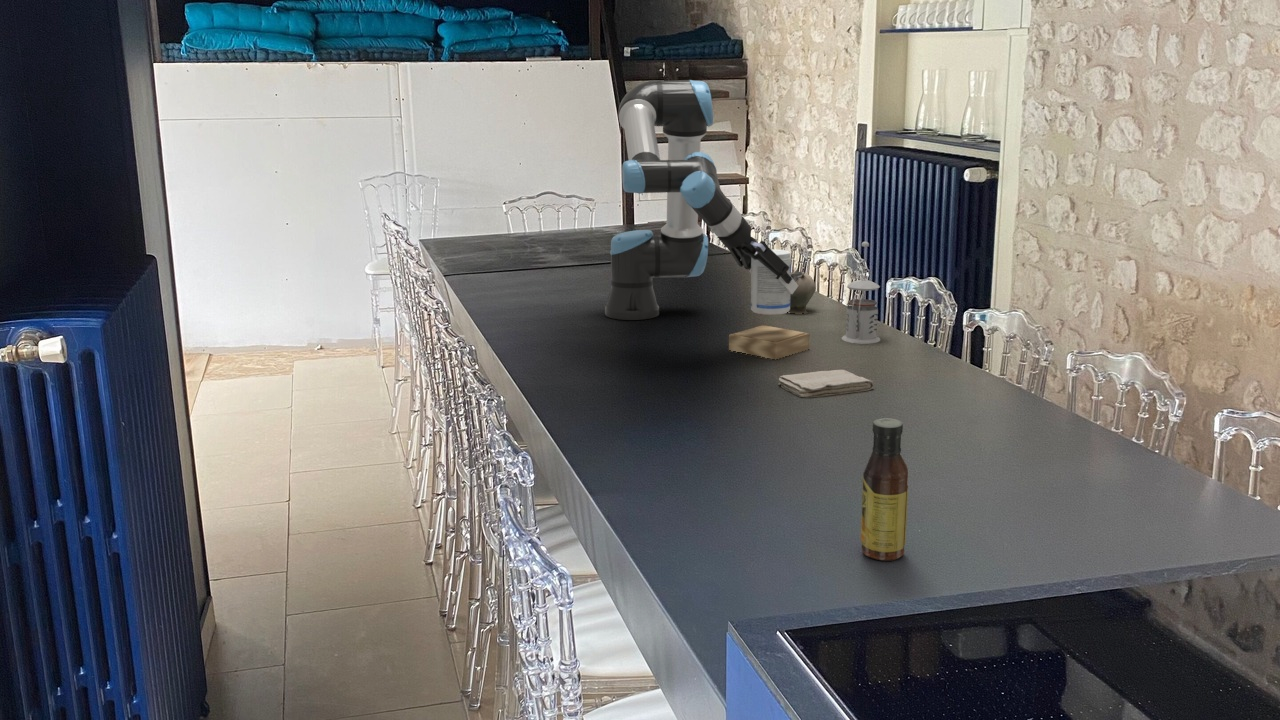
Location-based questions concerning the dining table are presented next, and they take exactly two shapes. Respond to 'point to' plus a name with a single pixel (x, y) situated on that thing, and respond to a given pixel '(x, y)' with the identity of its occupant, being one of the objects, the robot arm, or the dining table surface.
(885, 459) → the sauce bottle
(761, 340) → the riser
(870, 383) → the washcloth
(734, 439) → the dining table surface
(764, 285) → the supplement tub
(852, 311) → the french press
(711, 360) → the dining table surface
